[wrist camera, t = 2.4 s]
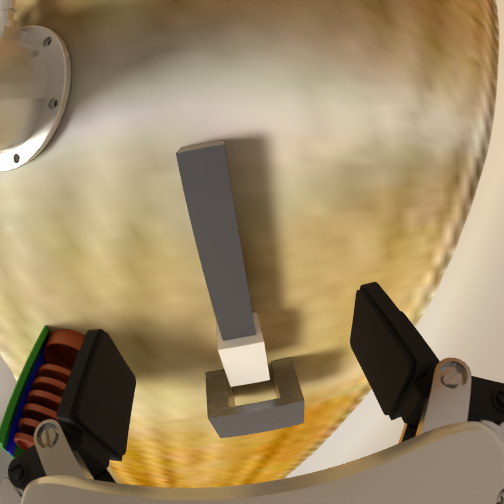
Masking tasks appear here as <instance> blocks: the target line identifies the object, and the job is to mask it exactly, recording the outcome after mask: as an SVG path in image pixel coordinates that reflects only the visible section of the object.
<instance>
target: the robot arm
mask: <svg viewBox="0 0 504 504" xmlns="http://www.w3.org/2000/svg"><path fill="white" fill-rule="evenodd" d="M15 6H16V0H0V171H10V170H13V169H16V168H19V167H21V166H23V165H25V164H27V163H28V162H30V161H31V160H32V159H34V158H35V157H36V156H37V155H38V154H39V153H40V152H41V151H42V150H43V149H44V148H45V147H46V145H47V144H48V142H49V141H50V140H51V138H52V137H53V135H54V133H55V131H56V129H57V127H58V125H59V124H60V121H61V118H62V116H63V113H64V111H65V108H66V104H67V100H68V96H69V91H70V83H71V63H70V58H69V52H68V50H67V47H66V45H65V43H64V41H63V40H62V39H61V37H60V36H59V35H58V34H57V33H55V32H54V31H52V30H51V29H48V28H46V27H43V26H37V25H30V26H24V27H21V28H19V29H17V21H15V20H13V15H14V12H15ZM57 101H58V103H57ZM56 103H57V105H56ZM350 345H351V348H352V350H353V352H354V354H355V356H356V358H357V360H358V362H359V364H360V366H361V368H362V370H363V372H364V374H365V376H366V378H367V380H368V382H369V384H370V386H371V388H372V390H373V392H374V394H375V396H376V398H377V400H378V402H379V405H380V407H381V409H382V411H383V413H384V414H385V415H389V416H390V418H391V420H394V419H396V418H399V417H402V419H403V421H404V423H405V425H404V428H403V431H402V434H401V437H400V440H399V443H398V444H397V445H395V446H392V447H390V448H387V449H385V450H382V451H379V452H377V453H374V454H371V455H369V456H366V457H363V458H360V459H357V460H354V461H351V462H348V463H346V464H342V465H339V466H335V467H332V468H328V469H325V470H321V471H317V472H313V473H309V474H305V475H300V476H296V477H291V478H286V479H280V480H275V481H269V482H262V483H255V484H247V485H238V486H226V487H209V488H165V487H148V486H137V485H128V484H122V483H121V482H120V481H119V479H118V478H117V476H116V475H115V473H114V472H113V470H112V469H111V467H110V466H109V460H114V461H122V455H124V454H125V453H126V447H127V438H128V431H129V424H130V417H131V410H132V404H133V398H134V392H135V386H136V379H135V376H134V374H133V373H132V371H131V370H130V368H129V367H128V365H127V364H126V362H125V361H124V359H123V357H122V356H121V354H120V353H119V351H118V349H117V348H116V346H115V344H114V343H113V341H112V339H111V338H110V336H109V335H108V333H105V332H104V331H103V330H102V329H98V330H89V331H88V332H87V333H86V335H85V338H84V340H83V343H82V345H81V347H80V350H79V352H78V355H77V357H76V360H75V363H74V365H73V368H72V370H71V373H70V376H69V379H68V381H67V384H66V387H65V390H64V393H63V396H62V399H61V402H60V405H59V408H58V412H57V415H56V417H57V418H58V421H57V422H56V421H55V420H52V419H49V420H45V421H42V422H41V423H40V424H39V425H38V426H37V428H36V430H35V432H34V443H35V444H34V445H32V446H31V447H30V448H28V449H27V450H26V451H24V452H23V453H21V454H20V455H19V456H17V457H16V458H14V459H13V460H12V461H11V463H10V465H9V468H8V476H9V479H8V478H7V477H6V478H5V480H4V481H3V482H2V484H1V485H0V504H504V383H499V382H494V381H490V380H486V379H482V378H478V377H474V376H471V371H470V369H469V367H468V366H467V365H466V363H465V362H463V361H461V360H460V359H457V358H446V359H443V360H442V361H439V360H438V358H437V357H436V356H435V354H434V353H433V351H432V350H431V348H430V347H429V346H428V344H427V343H426V342H425V340H424V339H423V338H422V336H421V335H420V334H419V332H418V331H417V330H416V328H415V327H414V326H413V324H412V323H411V322H410V320H409V319H408V318H407V316H406V315H405V314H404V313H403V312H402V311H400V310H399V309H398V308H397V307H396V305H395V304H394V303H393V301H392V300H391V299H390V298H389V296H388V295H387V294H386V293H385V292H384V290H383V289H382V288H381V287H380V285H379V284H378V283H377V282H372V283H368V284H364V285H361V287H360V290H357V292H356V299H355V307H354V315H353V323H352V330H351V337H350Z"/></svg>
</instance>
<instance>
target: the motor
mask: <svg viewBox="0 0 504 504" xmlns="http://www.w3.org/2000/svg"><path fill="white" fill-rule="evenodd" d="M48 331H49V328H48V327H46V326H44V328H43V330H42V331H41V333H40V335H39V337H38V339H37V341H36V343H35V345H34V347H33V349H32V351H31V353H30V355H29V357H28V359H27V361H26V363H25V365H24V368H23V370H22V372H21V374H20V376H19V379H18V381H17V383H16V386H15V388H14V391H13V393H12V396H11V398H10V401H9V403H8V406H7V409H6V412H5V415H4V417H3V421H2V423H1V426H0V448H1V449H2V450H3V451H5V452H6V453H7V454H8V455H10V456H11V457H12V458H16V457H17V456H19V455H20V454H21V453H23V452H24V451H26V450H27V449H28V448H30V447H31V446H32V445H34V444H35V443H34V432H35V430H36V428H37V426H38V425H39V424H40V423H41V422H42V421H45V420H49V419H52V420H55V421H56V422H57V421H58V418H57V417H56V415H57V412H58V408H59V405H60V402H61V399H62V396H63V393H64V390H65V387H66V384H67V381H68V379H69V376H70V373H71V370H72V368H73V365H74V363H75V360H76V357H77V354H75V352H77V353H78V352H79V350H80V347H81V345H82V343H83V340H84V338H85V336H84V335H83V334H81V333H78V332H75V331H72V330H67V329H61V330H57V331H55V332H53V333H52V334H51V336H50V338H49V340H48V342H46V335H47V333H48Z"/></svg>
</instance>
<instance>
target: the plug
mask: <svg viewBox="0 0 504 504" xmlns="http://www.w3.org/2000/svg"><path fill="white" fill-rule="evenodd" d="M176 156H177V161H178V166H179V171H180V176H181V180H182V185H183V190H184V194H185V199H186V203H187V207H188V212H189V216H190V220H191V225H192V229H193V233H194V237H195V241H196V245H197V249H198V253H199V257H200V261H201V265H202V269H203V272H204V276H205V280H206V284H207V287H208V291H209V295H210V298H211V302H212V305H213V309H214V312H215V316H216V319H217V320H216V330H217V345H218V352H219V355H220V358H221V361H222V364H223V366H224V369H225V372H226V375H227V378H228V381H229V383H230V386H231V387H233V386H239V385H245V384H251V383H256V382H262V381H267V380H270V377H269V371H268V365H267V358H266V352H265V345H264V340H263V336H262V332H261V327H260V323H259V319H258V315H257V312H255V313H252V307H251V301H250V296H249V290H248V284H247V278H246V272H245V267H244V261H243V255H242V249H241V243H240V237H239V231H238V225H237V219H236V213H235V207H234V201H233V195H232V189H231V183H230V177H229V170H228V164H227V158H226V152H225V145H224V142H223V140H217V141H212V142H206V143H201V144H196V145H191V146H186V147H182V148H180V149H179V150H178V152H177V153H176Z"/></svg>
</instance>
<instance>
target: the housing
mask: <svg viewBox="0 0 504 504" xmlns="http://www.w3.org/2000/svg"><path fill="white" fill-rule="evenodd" d="M271 364H272V372H273V379H274V386H275V391H276V395H277V399H273V400H268V401H263V402H257V403H252V404H246V405H240V406H235V399H234V394H233V391H232V388H231V386H230V383H229V381H228V378H227V375H226V372H225V370H221V371H214V372H207V373H206V394H207V412H208V419H209V421H210V422H211V424H212V425H213V427H214V429H215V430H216V432H217V433H218V435H219V436H220V438H226V437H234V436H241V435H248V434H254V433H260V432H265V431H270V430H275V429H280V428H285V427H289V426H294V425H298V424H302V423H304V398H303V395H302V391H301V388H300V385H299V382H298V379H297V376H296V373H295V370H294V366H293V363H292V360H291V357H289V358H285V359H280V360H276V361H271Z"/></svg>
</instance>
